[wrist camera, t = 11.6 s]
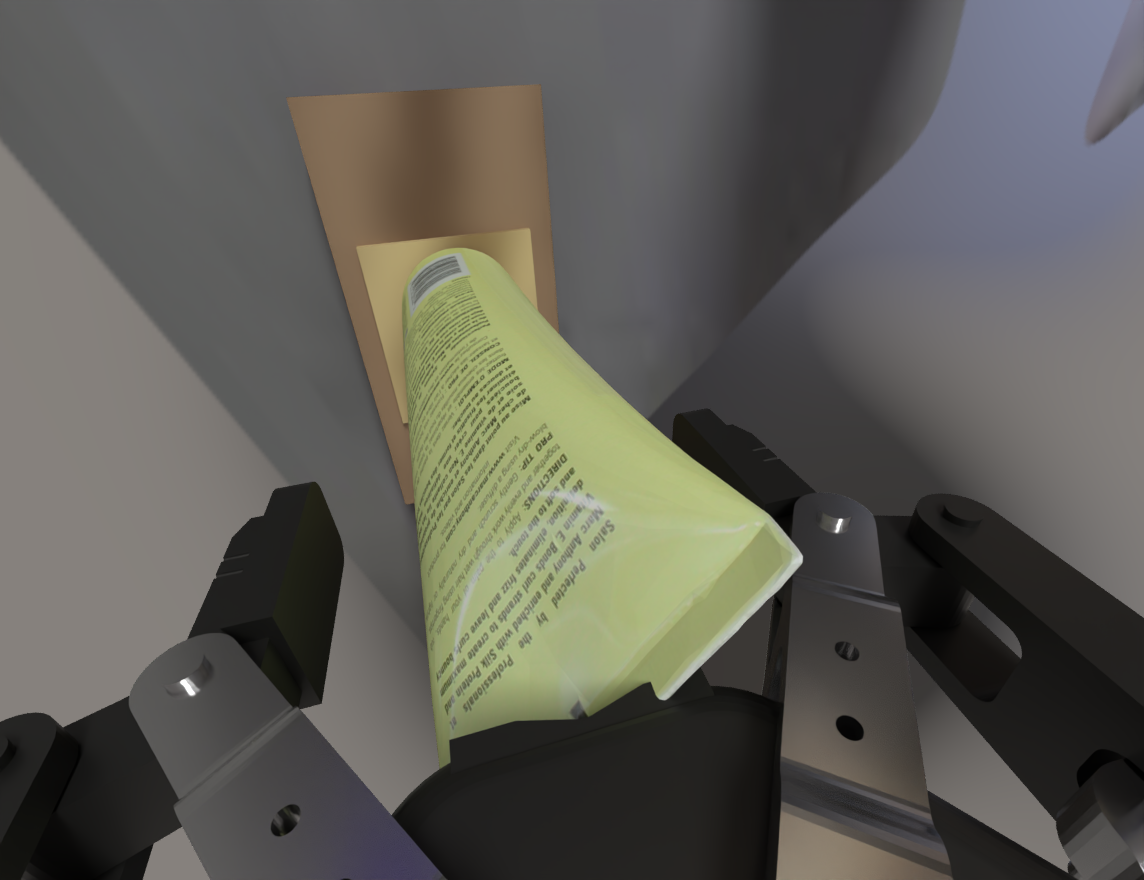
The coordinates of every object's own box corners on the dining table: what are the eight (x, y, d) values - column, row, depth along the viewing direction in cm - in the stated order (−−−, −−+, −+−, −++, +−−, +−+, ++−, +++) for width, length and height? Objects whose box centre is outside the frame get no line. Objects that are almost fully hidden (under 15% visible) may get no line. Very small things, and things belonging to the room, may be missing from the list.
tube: (529, 357, 24) (767, 800, 8) (422, 382, 24) (458, 925, 8) (505, 233, 21) (812, 555, 5) (382, 256, 20) (297, 721, 4)
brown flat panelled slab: (525, 89, 22) (567, 74, 16) (556, 444, 31) (589, 514, 26) (301, 101, 20) (257, 89, 14) (406, 473, 30) (405, 556, 24)
